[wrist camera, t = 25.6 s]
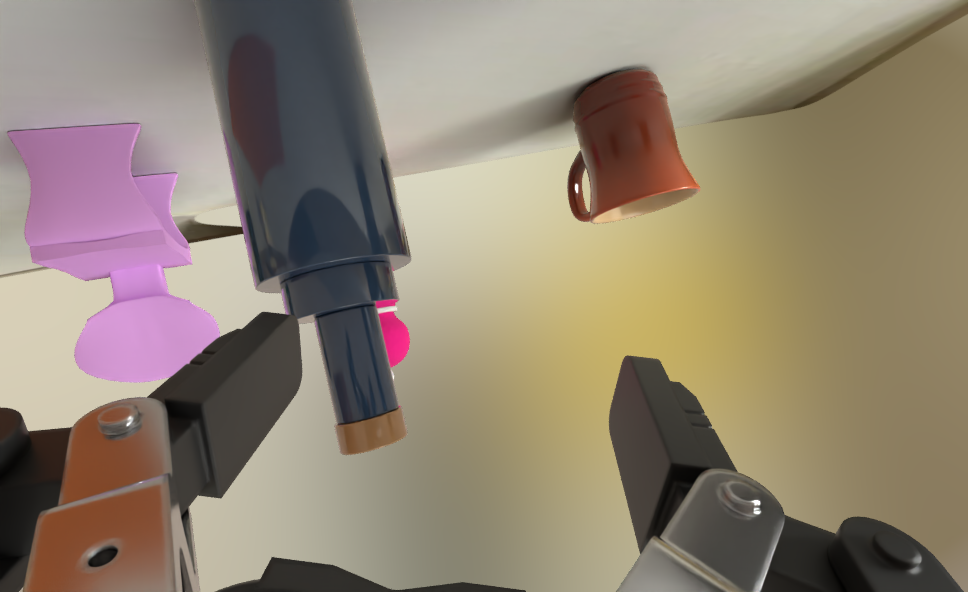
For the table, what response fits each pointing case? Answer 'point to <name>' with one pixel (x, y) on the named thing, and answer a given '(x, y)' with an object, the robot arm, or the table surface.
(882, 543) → the robot arm
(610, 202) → the mug
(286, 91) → the bottle
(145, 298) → the toy chair
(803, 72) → the table surface
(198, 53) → the table surface
